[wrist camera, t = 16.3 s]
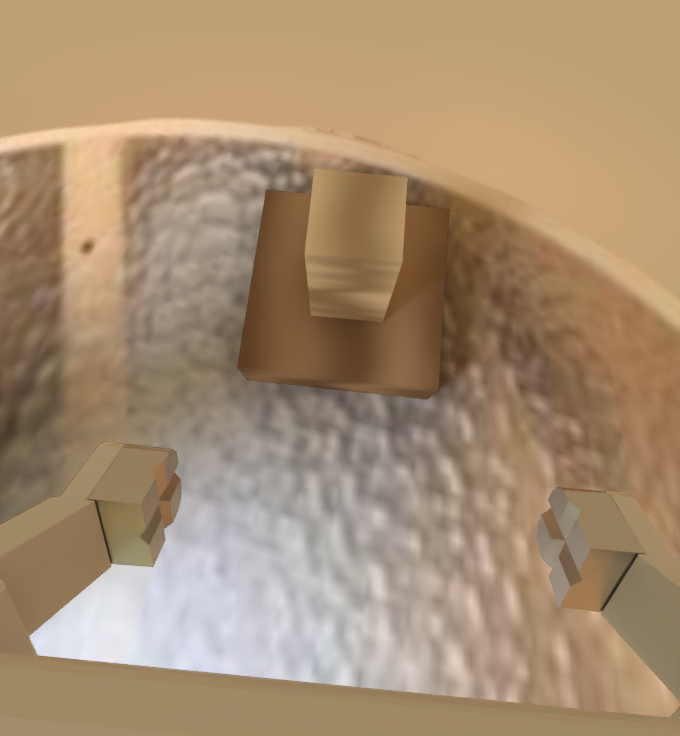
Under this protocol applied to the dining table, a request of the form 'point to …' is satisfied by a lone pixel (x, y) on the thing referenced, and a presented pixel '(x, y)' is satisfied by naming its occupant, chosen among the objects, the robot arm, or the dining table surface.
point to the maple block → (354, 243)
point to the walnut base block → (336, 335)
